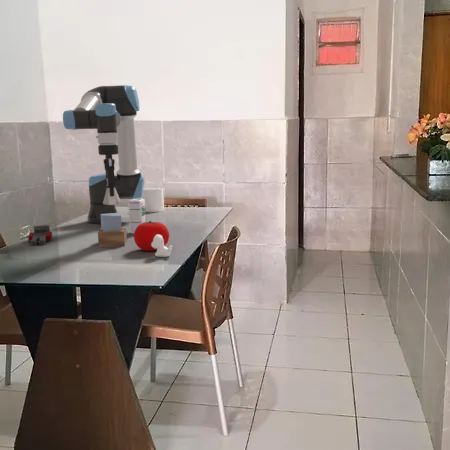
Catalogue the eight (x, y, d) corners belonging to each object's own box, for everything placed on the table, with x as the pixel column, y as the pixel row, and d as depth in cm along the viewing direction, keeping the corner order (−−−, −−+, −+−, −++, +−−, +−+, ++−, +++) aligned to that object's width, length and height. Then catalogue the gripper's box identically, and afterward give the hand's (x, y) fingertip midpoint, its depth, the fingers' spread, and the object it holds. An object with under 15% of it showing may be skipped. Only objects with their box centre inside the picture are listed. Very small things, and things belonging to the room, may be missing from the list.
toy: (49, 250, 224) (54, 236, 238) (48, 236, 222) (52, 223, 236) (27, 252, 223) (33, 237, 237) (25, 237, 221) (31, 224, 235)
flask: (103, 202, 222) (102, 177, 220) (122, 202, 223) (120, 177, 221) (101, 205, 215) (99, 179, 213) (120, 204, 216) (119, 179, 214)
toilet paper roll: (162, 212, 298) (161, 189, 296) (140, 212, 298) (139, 190, 296) (165, 208, 309) (164, 187, 307) (144, 209, 310) (143, 187, 307)
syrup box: (142, 233, 241) (140, 200, 238) (129, 233, 242) (127, 200, 239) (147, 231, 246) (145, 198, 243) (134, 231, 247) (132, 198, 245)
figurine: (153, 254, 202) (152, 233, 201) (175, 254, 201) (174, 233, 200) (150, 258, 197) (149, 236, 196) (172, 258, 196) (171, 236, 195)
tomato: (131, 248, 213) (129, 220, 211) (164, 244, 218) (163, 217, 216) (139, 255, 202) (137, 225, 200) (173, 250, 207) (172, 221, 205)
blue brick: (101, 228, 223) (100, 214, 222) (119, 227, 225) (118, 212, 224) (103, 232, 216) (102, 216, 215) (121, 230, 219) (120, 215, 218)
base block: (101, 242, 227) (101, 227, 226) (126, 241, 228) (125, 226, 226) (98, 247, 217) (97, 232, 216) (124, 246, 218) (123, 231, 217)
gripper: (96, 143, 223) (100, 200, 227) (99, 145, 204) (103, 207, 208) (115, 143, 225) (119, 199, 229) (120, 144, 206) (123, 206, 210)
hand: (111, 203), depth 219 cm, fingers closed on flask, 7 cm apart
